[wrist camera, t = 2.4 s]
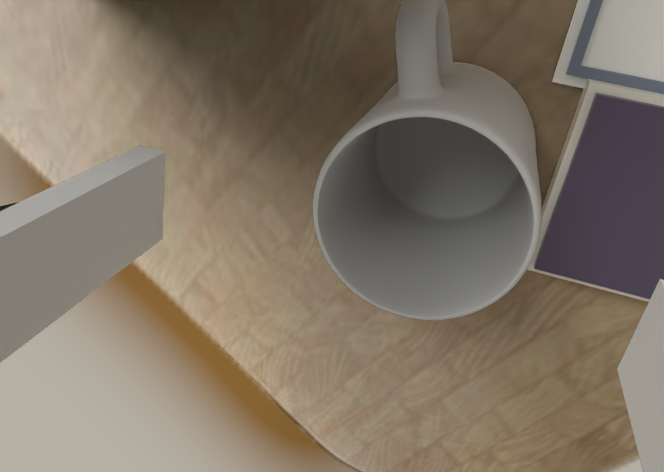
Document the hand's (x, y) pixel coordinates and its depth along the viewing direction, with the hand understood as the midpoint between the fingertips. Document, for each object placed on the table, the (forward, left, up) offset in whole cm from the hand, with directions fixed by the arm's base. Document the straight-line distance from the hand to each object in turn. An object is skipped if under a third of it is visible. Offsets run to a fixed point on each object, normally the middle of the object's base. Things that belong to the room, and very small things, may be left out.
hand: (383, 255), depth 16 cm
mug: (0, 0, -17) cm, 17 cm away
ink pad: (+11, -2, -17) cm, 20 cm away
